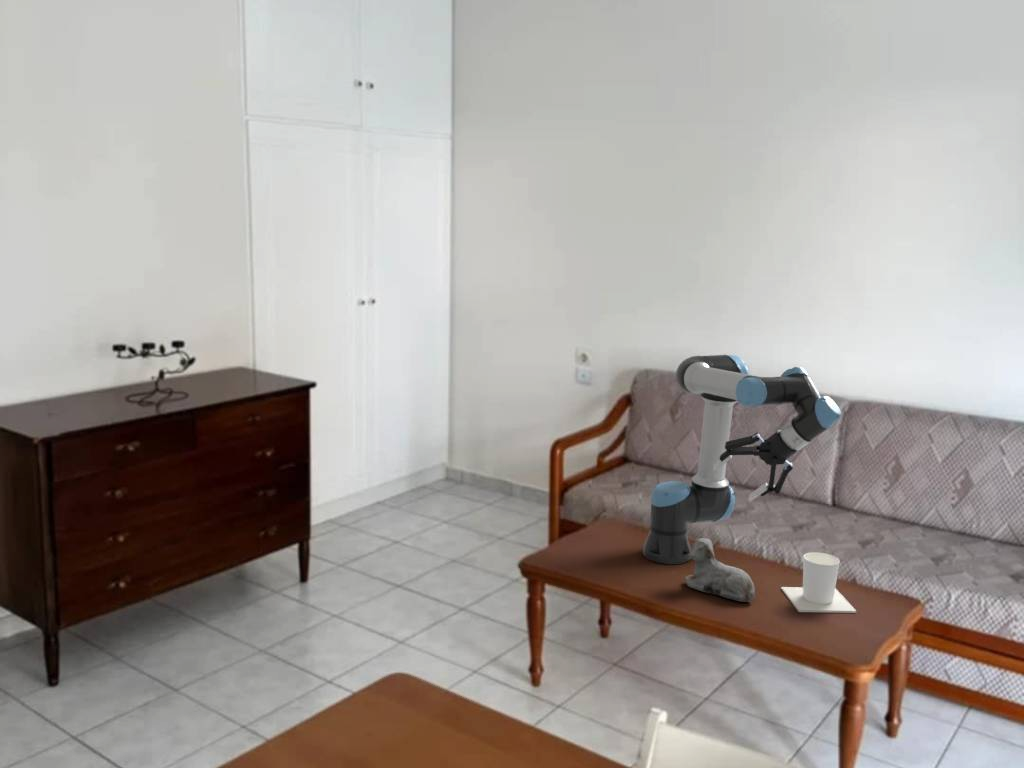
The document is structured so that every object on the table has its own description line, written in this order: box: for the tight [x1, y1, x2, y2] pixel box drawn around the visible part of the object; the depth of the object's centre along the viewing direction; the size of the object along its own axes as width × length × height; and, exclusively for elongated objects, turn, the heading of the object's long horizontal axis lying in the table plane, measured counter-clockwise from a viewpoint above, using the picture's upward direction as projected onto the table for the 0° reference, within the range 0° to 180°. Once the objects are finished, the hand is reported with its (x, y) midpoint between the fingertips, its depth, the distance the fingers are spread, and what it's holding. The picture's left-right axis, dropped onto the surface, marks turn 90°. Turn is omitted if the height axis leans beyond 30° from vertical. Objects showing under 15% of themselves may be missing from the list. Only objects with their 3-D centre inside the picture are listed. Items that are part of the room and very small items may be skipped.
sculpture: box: [684, 537, 756, 603], centre depth 268 cm, size 11×21×15 cm, turn 66°
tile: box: [780, 586, 857, 614], centre depth 266 cm, size 16×16×1 cm
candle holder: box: [802, 551, 841, 604], centre depth 265 cm, size 10×10×12 cm
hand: (731, 483), depth 263 cm, fingers open, 13 cm apart
